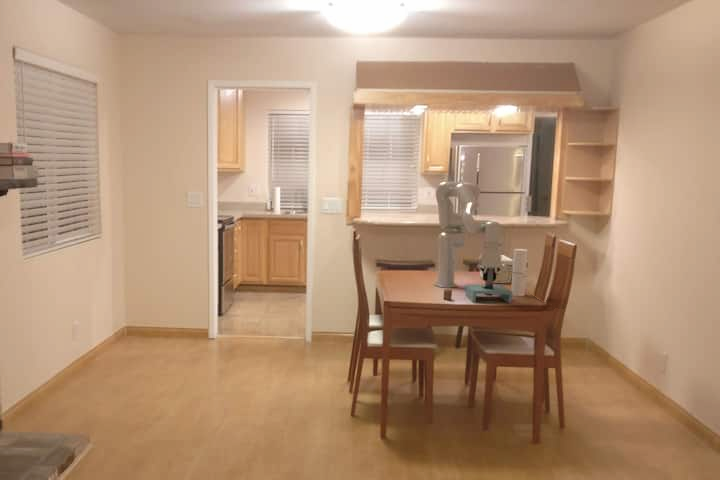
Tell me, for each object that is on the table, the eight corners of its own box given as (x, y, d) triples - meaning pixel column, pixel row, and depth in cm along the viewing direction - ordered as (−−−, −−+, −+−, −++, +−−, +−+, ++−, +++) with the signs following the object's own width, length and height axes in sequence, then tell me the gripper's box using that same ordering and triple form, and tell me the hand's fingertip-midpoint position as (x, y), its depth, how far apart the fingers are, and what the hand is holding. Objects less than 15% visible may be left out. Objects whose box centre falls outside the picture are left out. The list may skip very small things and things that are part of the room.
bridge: (465, 295, 301) (466, 284, 300) (502, 296, 302) (503, 285, 301) (472, 302, 285) (473, 290, 284) (511, 303, 286) (512, 291, 285)
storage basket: (477, 276, 361) (479, 253, 359) (502, 277, 361) (504, 254, 359) (486, 283, 337) (487, 259, 335) (513, 284, 337) (514, 260, 335)
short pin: (442, 298, 292) (443, 289, 291) (450, 298, 292) (450, 289, 291) (444, 300, 288) (444, 290, 287) (452, 300, 288) (452, 291, 287)
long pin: (483, 293, 295) (485, 267, 293) (491, 294, 295) (492, 267, 293) (485, 295, 291) (487, 268, 289) (493, 295, 291) (494, 269, 290)
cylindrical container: (509, 293, 311) (512, 248, 308) (521, 293, 311) (524, 248, 308) (513, 296, 304) (516, 250, 301) (526, 296, 304) (529, 250, 301)
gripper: (505, 245, 294) (503, 279, 296) (473, 244, 293) (471, 278, 296) (509, 246, 287) (507, 282, 289) (477, 246, 286) (475, 281, 288)
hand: (489, 280), depth 292 cm, fingers closed on long pin, 4 cm apart
